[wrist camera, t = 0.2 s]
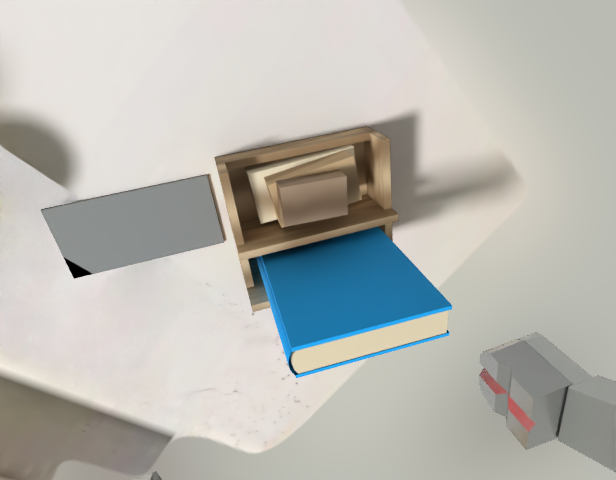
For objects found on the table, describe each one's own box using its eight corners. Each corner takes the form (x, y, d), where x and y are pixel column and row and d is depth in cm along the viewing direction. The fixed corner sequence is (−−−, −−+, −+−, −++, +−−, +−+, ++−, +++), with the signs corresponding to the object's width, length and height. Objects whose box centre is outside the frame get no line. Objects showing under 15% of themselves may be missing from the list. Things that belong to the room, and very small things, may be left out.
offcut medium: (263, 177, 51) (268, 185, 49) (345, 149, 53) (353, 156, 50) (276, 218, 54) (281, 227, 52) (353, 191, 56) (361, 199, 53)
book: (359, 206, 62) (455, 301, 40) (360, 231, 64) (452, 335, 42) (246, 229, 58) (286, 347, 37) (251, 255, 61) (291, 381, 39)
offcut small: (275, 180, 49) (280, 187, 47) (339, 169, 50) (346, 176, 48) (280, 218, 51) (284, 227, 49) (341, 206, 53) (347, 214, 51)
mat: (41, 209, 50) (40, 210, 49) (206, 174, 53) (206, 175, 53) (74, 276, 55) (74, 278, 54) (223, 241, 58) (224, 242, 58)
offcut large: (244, 167, 53) (247, 174, 51) (345, 140, 55) (353, 146, 53) (257, 214, 57) (260, 223, 54) (351, 188, 59) (359, 195, 56)
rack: (214, 157, 53) (222, 186, 43) (367, 126, 56) (405, 146, 47) (241, 267, 61) (253, 312, 52) (373, 234, 65) (406, 270, 55)
